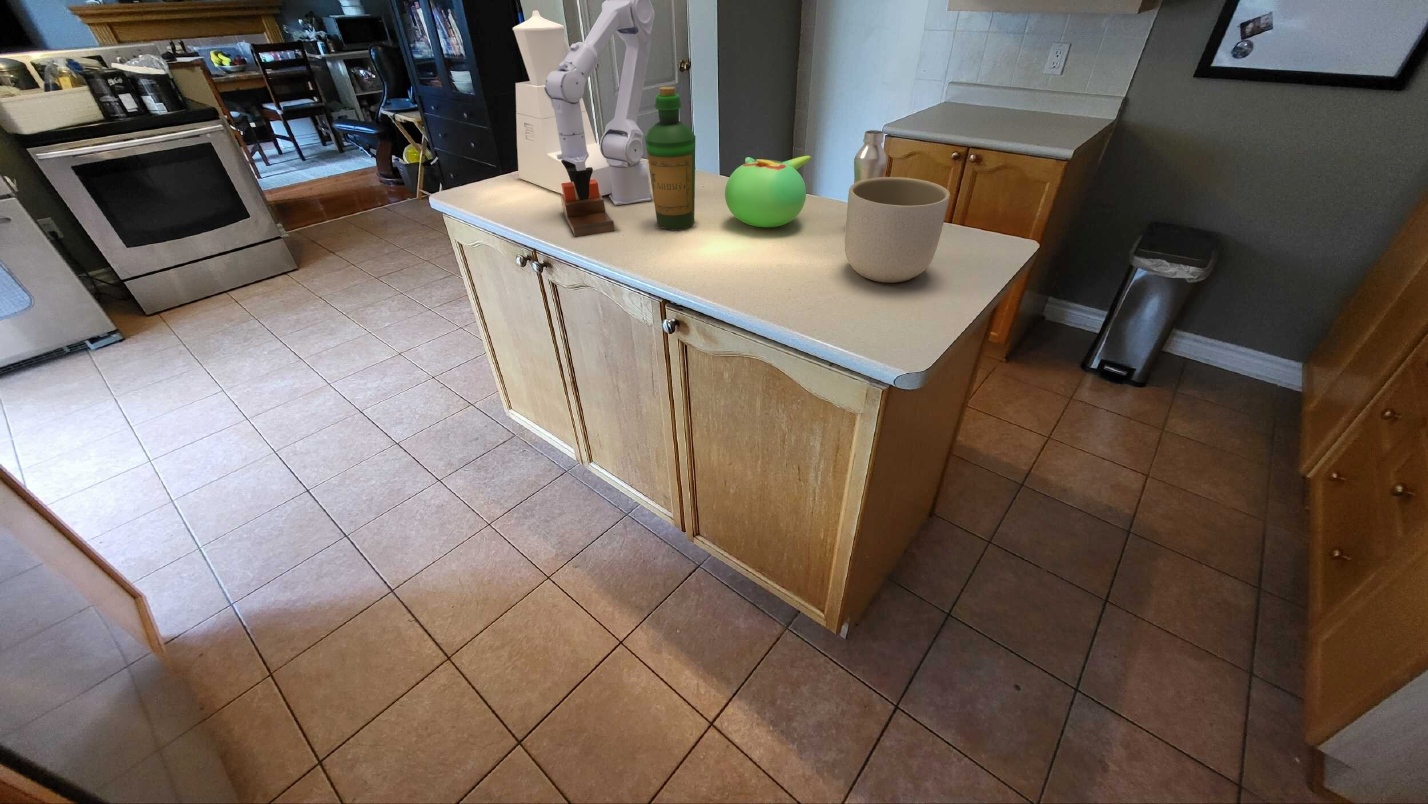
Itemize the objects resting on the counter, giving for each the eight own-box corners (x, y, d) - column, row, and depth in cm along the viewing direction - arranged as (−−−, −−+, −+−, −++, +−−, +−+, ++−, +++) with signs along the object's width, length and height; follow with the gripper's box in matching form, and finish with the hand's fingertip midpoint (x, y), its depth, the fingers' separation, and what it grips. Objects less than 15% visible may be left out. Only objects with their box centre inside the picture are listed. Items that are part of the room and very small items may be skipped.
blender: (640, 187, 155) (622, 10, 131) (583, 204, 145) (552, 15, 121) (573, 166, 174) (547, 7, 150) (519, 179, 164) (481, 12, 140)
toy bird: (714, 231, 128) (712, 162, 119) (743, 208, 140) (743, 144, 131) (790, 242, 121) (794, 170, 112) (813, 217, 133) (819, 150, 125)
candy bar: (596, 192, 137) (594, 179, 136) (599, 197, 135) (597, 183, 133) (563, 197, 135) (561, 183, 133) (565, 201, 133) (563, 187, 131)
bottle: (643, 229, 130) (630, 90, 113) (668, 214, 137) (658, 82, 120) (684, 236, 126) (676, 93, 109) (707, 220, 133) (702, 85, 116)
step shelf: (599, 208, 142) (597, 190, 139) (614, 230, 129) (612, 211, 126) (563, 213, 140) (560, 194, 137) (575, 236, 127) (571, 216, 124)
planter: (874, 247, 118) (886, 171, 109) (949, 272, 108) (969, 190, 98) (821, 271, 109) (829, 191, 100) (897, 301, 99) (914, 213, 90)
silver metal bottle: (877, 235, 123) (892, 136, 111) (845, 234, 124) (857, 135, 112) (876, 225, 128) (891, 129, 116) (846, 223, 129) (857, 128, 117)
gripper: (548, 128, 131) (559, 188, 139) (557, 141, 120) (569, 206, 128) (579, 125, 133) (588, 185, 141) (591, 138, 122) (600, 202, 130)
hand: (581, 195), depth 135 cm, fingers open, 7 cm apart
